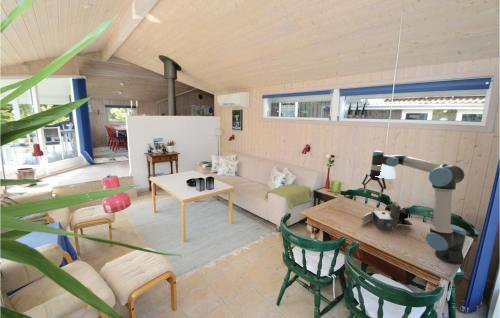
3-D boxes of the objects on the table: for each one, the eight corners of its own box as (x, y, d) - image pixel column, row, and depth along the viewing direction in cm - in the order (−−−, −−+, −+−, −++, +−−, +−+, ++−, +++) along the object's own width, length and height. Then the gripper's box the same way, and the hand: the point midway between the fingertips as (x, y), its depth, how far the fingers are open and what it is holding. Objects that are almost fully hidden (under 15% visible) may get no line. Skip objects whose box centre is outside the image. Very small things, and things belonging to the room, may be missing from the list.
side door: (362, 224, 207) (363, 216, 206) (360, 223, 209) (361, 215, 207) (371, 220, 216) (372, 211, 214) (369, 219, 218) (370, 211, 216)
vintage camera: (412, 229, 201) (416, 207, 197) (392, 227, 204) (396, 205, 199) (407, 224, 210) (411, 203, 206) (388, 222, 213) (392, 201, 209)
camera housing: (393, 231, 197) (395, 220, 195) (379, 229, 199) (380, 218, 197) (384, 220, 215) (386, 210, 213) (371, 219, 217) (372, 209, 215)
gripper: (393, 171, 192) (389, 196, 197) (362, 166, 207) (359, 189, 211) (391, 173, 186) (387, 199, 191) (359, 167, 201) (356, 192, 206)
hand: (372, 194), depth 201 cm, fingers open, 11 cm apart
